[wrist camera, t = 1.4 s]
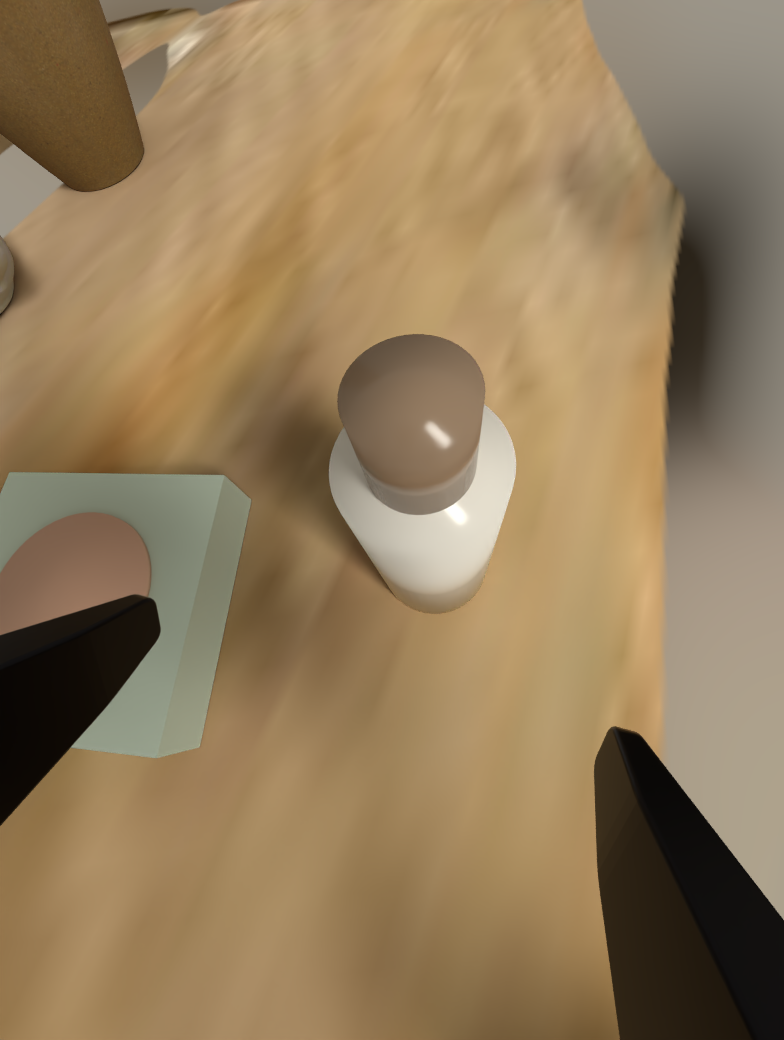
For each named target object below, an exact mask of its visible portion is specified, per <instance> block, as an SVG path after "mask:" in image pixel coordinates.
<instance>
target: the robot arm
mask: <svg viewBox="0 0 784 1040" xmlns="http://www.w3.org/2000/svg"><path fill="white" fill-rule="evenodd" d="M160 633H161V626H160V621H159V615H158V610H157V605H156V602H155V601H154V599H152V598H150V597H146V596H142V595H139V594H133V595H129V596H126V597H123V598H119V599H116V600H113V601H110V602H106V603H103V604H100V605H97V606H93V607H90V608H87V609H83V610H80V611H77V612H74V613H70V614H67V615H64V616H61V617H57V618H54V619H51V620H48V621H44V622H41V623H38V624H35V625H31V626H28V627H25V628H21V629H18V630H15V631H12V632H8V633H5V634H2V635H0V826H1V825H2V824H3V823H4V821H5V820H6V819H7V818H8V817H9V816H10V815H11V814H12V812H13V811H14V810H15V809H16V808H17V807H18V806H19V805H20V804H21V802H22V801H23V800H24V799H25V798H26V797H27V796H28V795H29V793H30V792H31V791H32V790H33V789H34V788H35V787H36V786H37V785H38V783H39V782H40V781H41V780H42V779H43V778H44V777H45V776H46V774H47V773H48V772H49V771H50V770H51V769H52V768H53V767H54V766H55V764H56V763H57V762H58V761H59V760H60V759H61V758H62V757H63V755H64V754H65V753H66V752H67V751H68V750H69V749H70V748H71V747H72V745H73V744H74V743H75V742H76V741H77V740H78V739H79V738H80V736H81V735H82V734H83V733H84V732H85V731H86V730H87V729H88V728H89V726H90V725H91V724H92V723H93V722H94V721H95V720H96V719H97V717H98V716H99V715H100V714H101V713H102V712H103V711H104V709H105V708H106V707H107V706H108V705H109V704H110V702H111V701H112V700H113V699H114V697H115V696H116V695H117V693H118V692H119V691H120V689H121V688H122V687H123V685H124V684H125V683H126V681H127V680H128V679H129V678H130V676H131V675H132V674H133V672H134V671H135V670H136V668H137V667H138V666H139V664H140V663H141V662H142V660H143V659H144V658H145V656H146V655H147V654H148V652H149V651H150V650H151V648H152V647H153V646H154V644H155V643H156V642H157V640H158V638H159V636H160ZM594 785H595V815H596V845H597V868H598V879H599V888H600V896H601V904H602V911H603V918H604V926H605V933H606V940H607V948H608V955H609V962H610V970H611V977H612V984H613V992H614V999H615V1006H616V1014H617V1021H618V1028H619V1035H620V1040H784V920H783V919H782V917H781V916H780V915H779V913H778V912H777V911H776V910H775V908H774V907H773V906H772V904H771V903H770V902H769V900H768V899H767V898H766V897H765V895H764V894H763V893H762V891H761V890H760V889H759V887H758V886H757V885H756V884H755V882H754V881H753V880H752V878H751V877H750V876H749V874H748V873H747V872H746V871H745V869H744V868H743V867H742V865H741V864H740V863H739V862H738V860H737V859H736V858H735V856H734V855H733V854H732V852H731V851H730V850H729V849H728V847H727V846H726V845H725V843H724V842H723V841H722V840H721V838H720V837H719V836H718V834H717V833H716V832H715V830H714V829H713V828H712V827H711V825H710V824H709V823H708V822H707V820H706V819H705V818H704V816H703V815H702V814H701V813H700V811H699V810H698V808H697V807H696V806H695V805H694V803H693V802H692V801H691V799H690V798H689V797H688V796H687V794H686V793H685V792H684V790H683V789H682V788H681V786H680V785H679V784H678V783H677V781H676V780H675V779H674V777H673V776H672V775H671V774H670V772H669V771H668V770H667V768H666V767H665V766H664V764H663V763H662V762H661V761H660V759H659V758H658V757H657V755H656V754H655V753H654V752H653V750H652V749H651V748H650V746H649V745H648V744H647V742H646V741H645V740H644V739H643V737H642V736H641V735H640V734H638V733H637V732H634V731H631V730H627V729H623V728H620V727H616V726H614V727H611V728H610V729H609V730H608V732H607V734H606V736H605V739H604V741H603V743H602V745H601V747H600V750H599V752H598V754H597V756H596V760H595V765H594Z"/></svg>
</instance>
